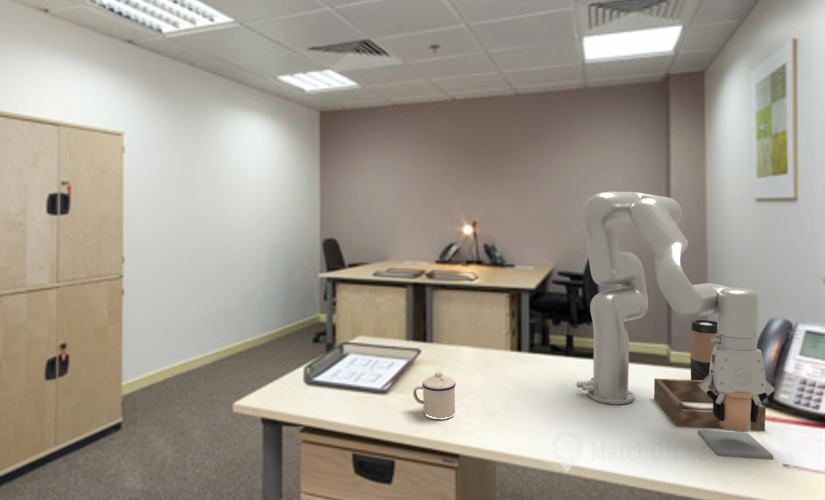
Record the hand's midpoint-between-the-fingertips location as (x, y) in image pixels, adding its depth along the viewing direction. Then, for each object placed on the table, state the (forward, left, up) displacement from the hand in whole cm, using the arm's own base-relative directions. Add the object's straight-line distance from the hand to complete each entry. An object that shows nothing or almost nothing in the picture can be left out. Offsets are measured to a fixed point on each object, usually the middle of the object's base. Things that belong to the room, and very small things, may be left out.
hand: (735, 418), depth 110 cm
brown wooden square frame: (+1, +18, -6) cm, 19 cm away
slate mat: (0, 0, -6) cm, 6 cm away
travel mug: (+9, +39, -7) cm, 41 cm away
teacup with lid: (-71, +9, -7) cm, 72 cm away
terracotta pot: (0, 0, -2) cm, 2 cm away
